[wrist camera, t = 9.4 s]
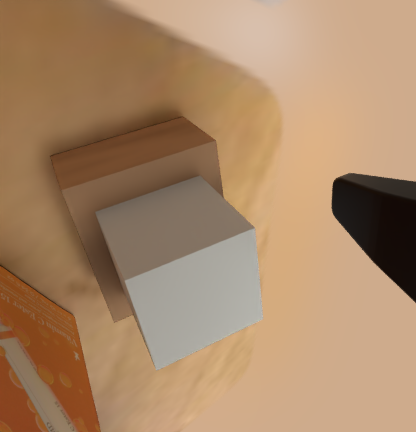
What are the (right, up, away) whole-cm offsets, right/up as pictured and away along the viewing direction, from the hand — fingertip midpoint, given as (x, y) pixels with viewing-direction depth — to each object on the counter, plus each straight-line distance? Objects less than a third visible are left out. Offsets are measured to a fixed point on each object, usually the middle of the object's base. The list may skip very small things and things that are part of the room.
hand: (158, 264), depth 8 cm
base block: (-3, +2, +14) cm, 14 cm away
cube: (-1, 0, +11) cm, 11 cm away
